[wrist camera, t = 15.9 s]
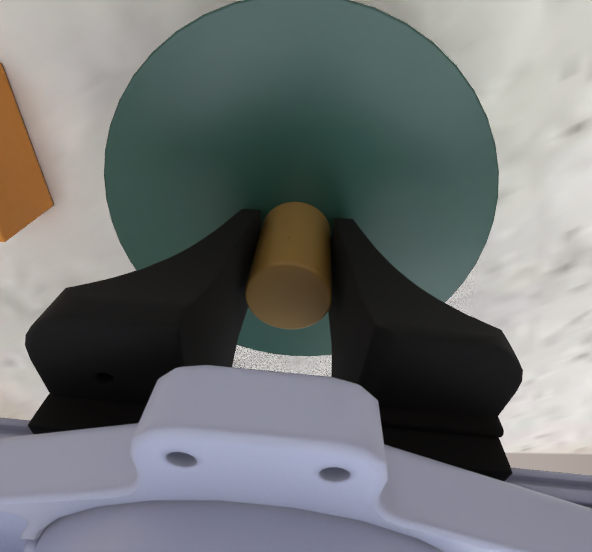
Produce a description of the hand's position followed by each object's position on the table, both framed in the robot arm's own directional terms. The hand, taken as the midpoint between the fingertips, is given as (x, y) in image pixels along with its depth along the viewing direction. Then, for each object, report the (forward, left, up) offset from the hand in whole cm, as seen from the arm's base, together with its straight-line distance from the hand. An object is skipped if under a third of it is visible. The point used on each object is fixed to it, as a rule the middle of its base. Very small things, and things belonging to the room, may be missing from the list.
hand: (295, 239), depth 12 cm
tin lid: (0, 0, -1) cm, 1 cm away
